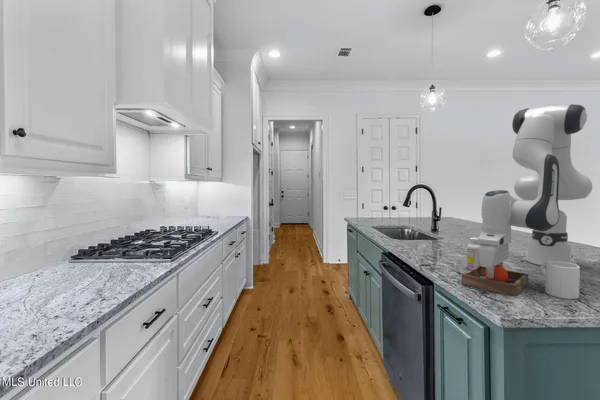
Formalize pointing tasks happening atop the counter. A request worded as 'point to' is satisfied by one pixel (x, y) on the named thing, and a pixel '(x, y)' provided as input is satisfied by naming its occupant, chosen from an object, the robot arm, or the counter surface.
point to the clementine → (498, 274)
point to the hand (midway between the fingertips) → (494, 275)
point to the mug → (561, 279)
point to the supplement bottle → (473, 253)
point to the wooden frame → (501, 287)
